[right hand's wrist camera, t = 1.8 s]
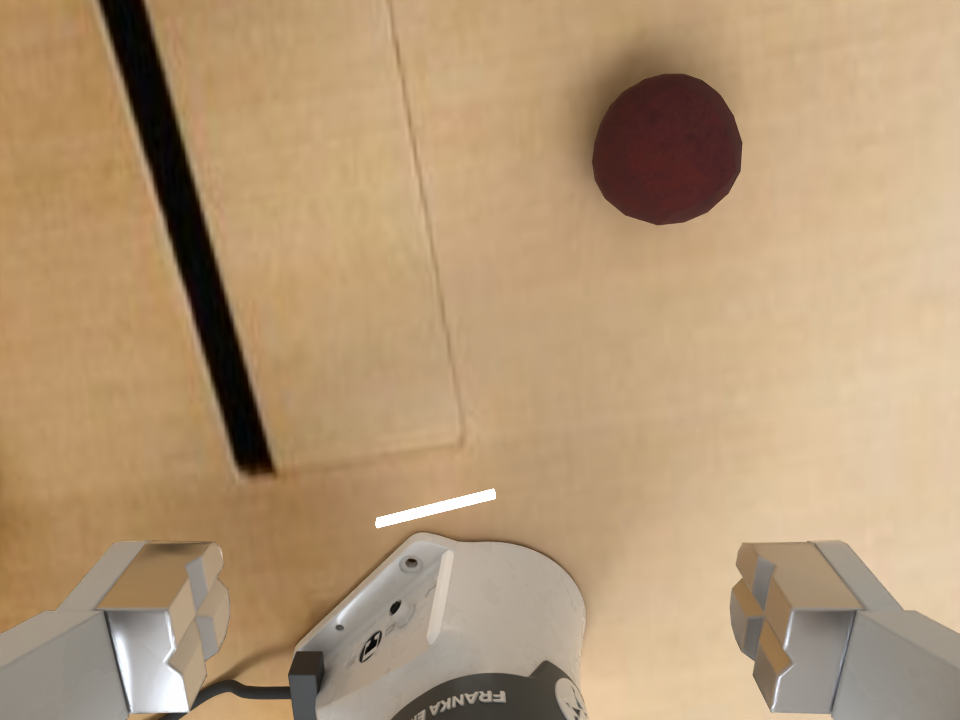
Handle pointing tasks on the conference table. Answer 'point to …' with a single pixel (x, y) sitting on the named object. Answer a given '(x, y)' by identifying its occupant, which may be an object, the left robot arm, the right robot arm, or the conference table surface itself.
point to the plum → (667, 150)
